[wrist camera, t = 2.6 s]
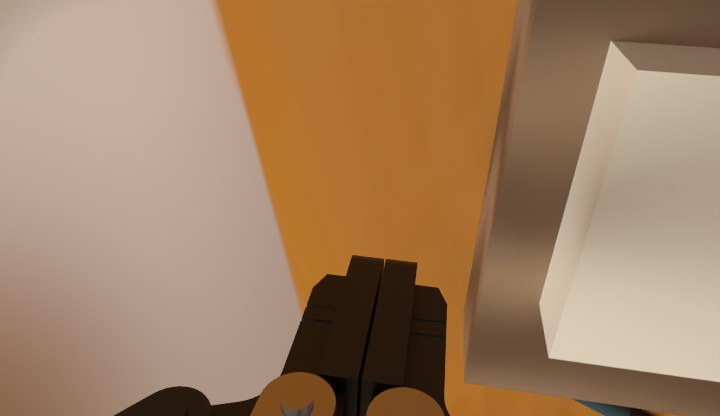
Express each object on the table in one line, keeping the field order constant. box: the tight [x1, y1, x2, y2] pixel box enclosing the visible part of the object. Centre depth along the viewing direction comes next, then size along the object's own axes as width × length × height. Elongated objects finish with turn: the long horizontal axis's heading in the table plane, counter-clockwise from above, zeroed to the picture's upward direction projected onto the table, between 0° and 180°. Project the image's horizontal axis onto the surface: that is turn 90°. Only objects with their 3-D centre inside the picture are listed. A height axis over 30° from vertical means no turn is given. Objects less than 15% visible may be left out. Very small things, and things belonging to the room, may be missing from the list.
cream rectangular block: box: [539, 41, 720, 382], centre depth 15 cm, size 9×6×2 cm, turn 178°
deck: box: [464, 0, 720, 416], centre depth 17 cm, size 18×12×4 cm, turn 178°
